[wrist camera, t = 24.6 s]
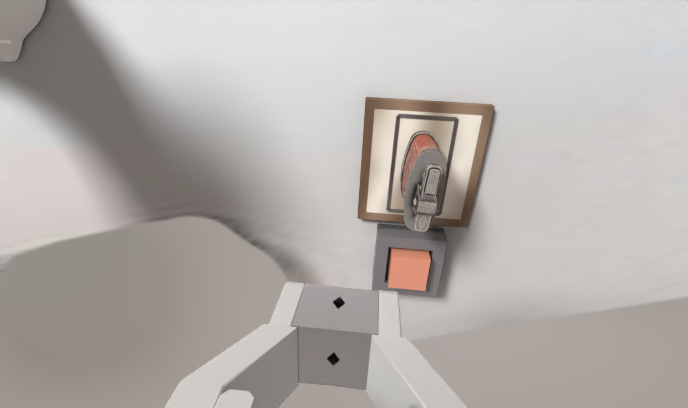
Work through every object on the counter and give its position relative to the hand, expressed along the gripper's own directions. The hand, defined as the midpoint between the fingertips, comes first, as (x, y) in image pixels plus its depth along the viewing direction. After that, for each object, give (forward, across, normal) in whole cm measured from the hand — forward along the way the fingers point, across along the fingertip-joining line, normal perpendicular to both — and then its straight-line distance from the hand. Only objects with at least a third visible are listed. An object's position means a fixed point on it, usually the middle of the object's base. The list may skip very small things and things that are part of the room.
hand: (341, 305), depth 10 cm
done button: (+30, -6, +18) cm, 35 cm away
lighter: (+30, -6, +6) cm, 31 cm away
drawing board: (+31, -6, +6) cm, 32 cm away
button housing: (+31, -6, +18) cm, 36 cm away
